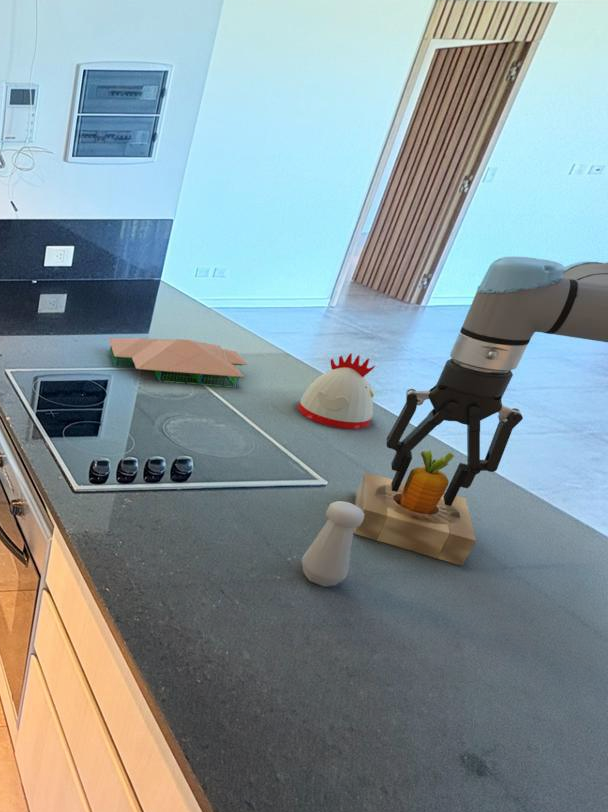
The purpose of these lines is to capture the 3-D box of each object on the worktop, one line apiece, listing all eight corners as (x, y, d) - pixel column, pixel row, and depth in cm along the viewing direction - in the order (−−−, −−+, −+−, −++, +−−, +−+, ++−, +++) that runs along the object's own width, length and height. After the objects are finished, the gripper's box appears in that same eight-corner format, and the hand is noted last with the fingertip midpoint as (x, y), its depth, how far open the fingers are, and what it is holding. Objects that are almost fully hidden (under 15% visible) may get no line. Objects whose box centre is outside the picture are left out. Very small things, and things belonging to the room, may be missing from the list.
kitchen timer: (357, 434, 134) (382, 371, 127) (288, 413, 144) (308, 353, 137) (377, 416, 142) (401, 356, 135) (311, 397, 151) (330, 339, 145)
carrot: (383, 526, 105) (417, 450, 98) (392, 515, 107) (425, 441, 101) (419, 541, 101) (457, 463, 94) (427, 529, 104) (464, 452, 97)
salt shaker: (341, 573, 94) (371, 503, 88) (344, 596, 90) (375, 523, 84) (297, 560, 97) (323, 491, 91) (297, 582, 92) (325, 510, 87)
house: (252, 389, 155) (261, 359, 152) (116, 378, 161) (121, 349, 158) (227, 357, 175) (234, 330, 172) (106, 348, 181) (111, 322, 178)
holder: (453, 522, 106) (465, 497, 104) (462, 566, 96) (476, 540, 93) (355, 495, 113) (365, 472, 111) (353, 533, 103) (364, 509, 101)
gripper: (400, 358, 93) (349, 486, 104) (576, 388, 83) (501, 526, 94) (399, 344, 99) (350, 467, 109) (564, 371, 89) (493, 503, 99)
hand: (420, 494), depth 101 cm, fingers open, 6 cm apart
